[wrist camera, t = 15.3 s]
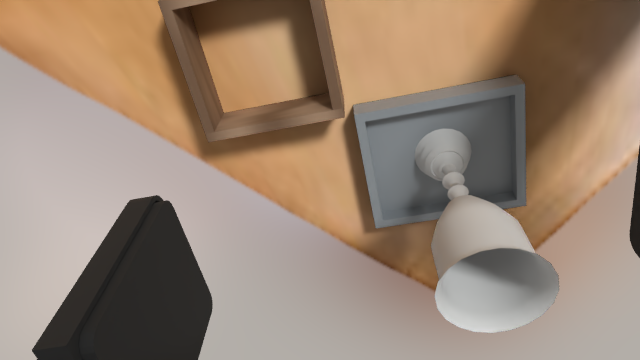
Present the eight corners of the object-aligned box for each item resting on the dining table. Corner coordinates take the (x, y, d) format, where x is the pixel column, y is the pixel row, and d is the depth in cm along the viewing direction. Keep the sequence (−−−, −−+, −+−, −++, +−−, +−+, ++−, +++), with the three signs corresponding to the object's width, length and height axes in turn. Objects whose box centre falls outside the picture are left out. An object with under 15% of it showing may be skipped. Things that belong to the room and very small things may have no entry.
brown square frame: (315, -42, 39) (313, -34, 35) (344, 99, 44) (344, 117, 41) (173, -10, 40) (157, 1, 37) (218, 122, 46) (208, 142, 42)
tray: (516, 74, 43) (525, 83, 41) (518, 192, 49) (526, 205, 47) (353, 105, 45) (354, 114, 43) (374, 215, 51) (375, 228, 49)
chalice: (486, 115, 44) (567, 243, 28) (482, 182, 47) (552, 329, 32) (401, 122, 44) (434, 251, 29) (403, 188, 48) (433, 335, 32)
